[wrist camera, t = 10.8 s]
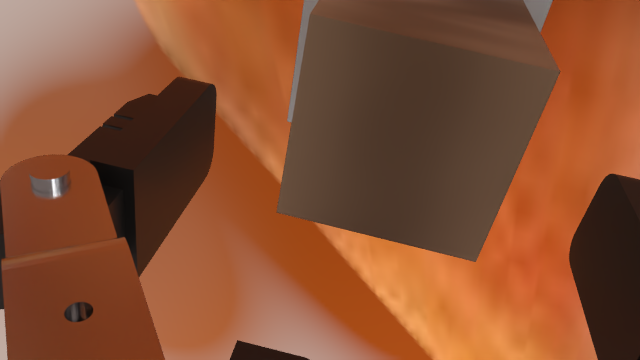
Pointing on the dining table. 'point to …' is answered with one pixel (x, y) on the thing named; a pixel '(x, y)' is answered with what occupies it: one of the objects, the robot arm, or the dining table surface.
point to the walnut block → (414, 117)
